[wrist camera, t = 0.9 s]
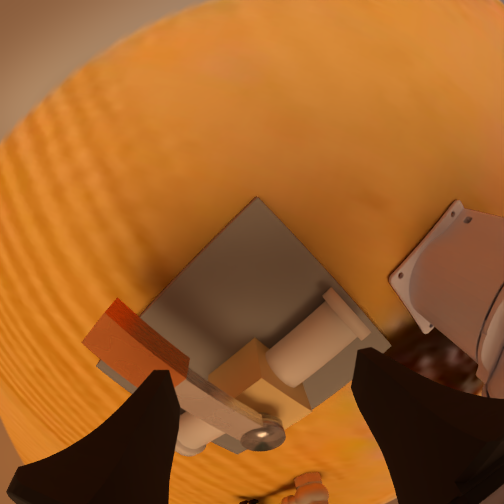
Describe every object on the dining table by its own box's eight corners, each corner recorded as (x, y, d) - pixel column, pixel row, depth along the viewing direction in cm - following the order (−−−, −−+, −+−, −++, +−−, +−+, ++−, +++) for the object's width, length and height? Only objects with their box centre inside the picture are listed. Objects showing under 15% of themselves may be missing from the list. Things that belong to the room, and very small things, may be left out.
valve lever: (289, 418, 15) (295, 440, 13) (259, 436, 15) (262, 459, 13) (121, 293, 12) (105, 311, 10) (96, 324, 12) (80, 343, 11)
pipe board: (256, 196, 17) (267, 203, 12) (385, 339, 21) (417, 376, 16) (100, 359, 19) (75, 400, 14) (237, 447, 23) (239, 488, 18)
